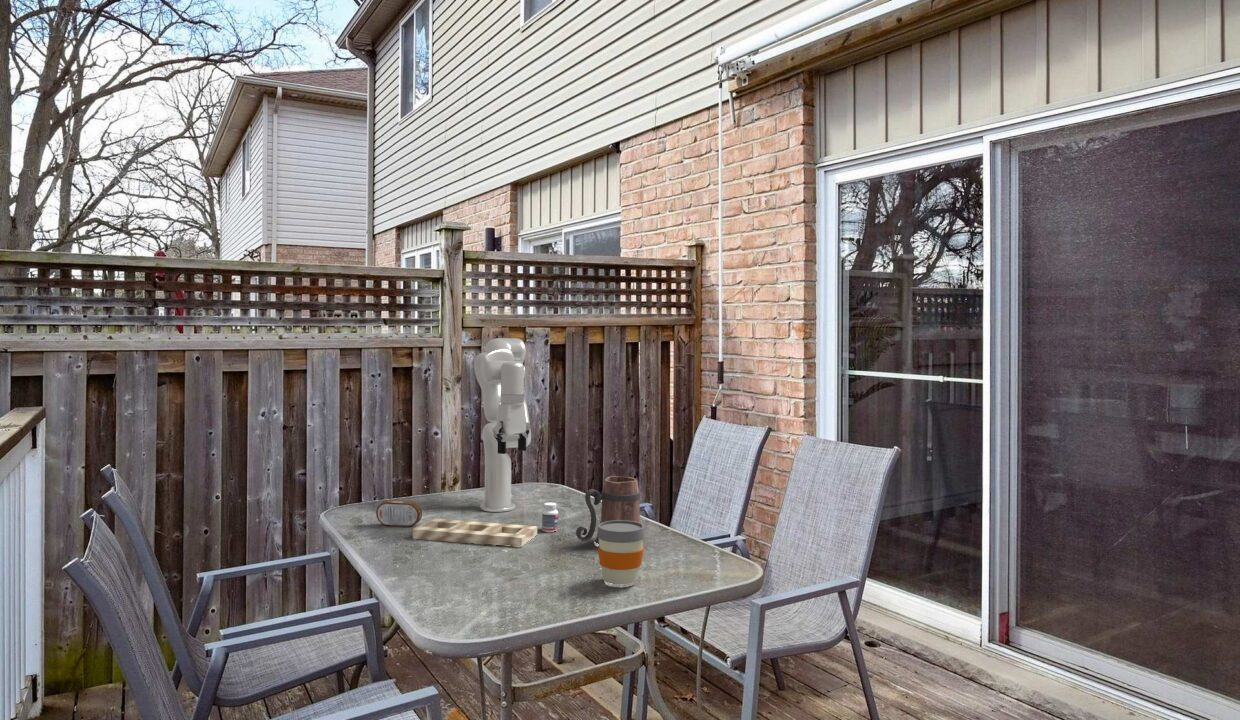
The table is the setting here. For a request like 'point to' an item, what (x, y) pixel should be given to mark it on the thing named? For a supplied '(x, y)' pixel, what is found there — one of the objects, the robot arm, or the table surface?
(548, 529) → the pill bottle
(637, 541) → the reusable coffee cup
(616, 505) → the tankard
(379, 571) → the table surface
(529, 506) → the table surface
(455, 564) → the table surface
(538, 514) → the table surface
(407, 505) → the tin
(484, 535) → the wooden rack
